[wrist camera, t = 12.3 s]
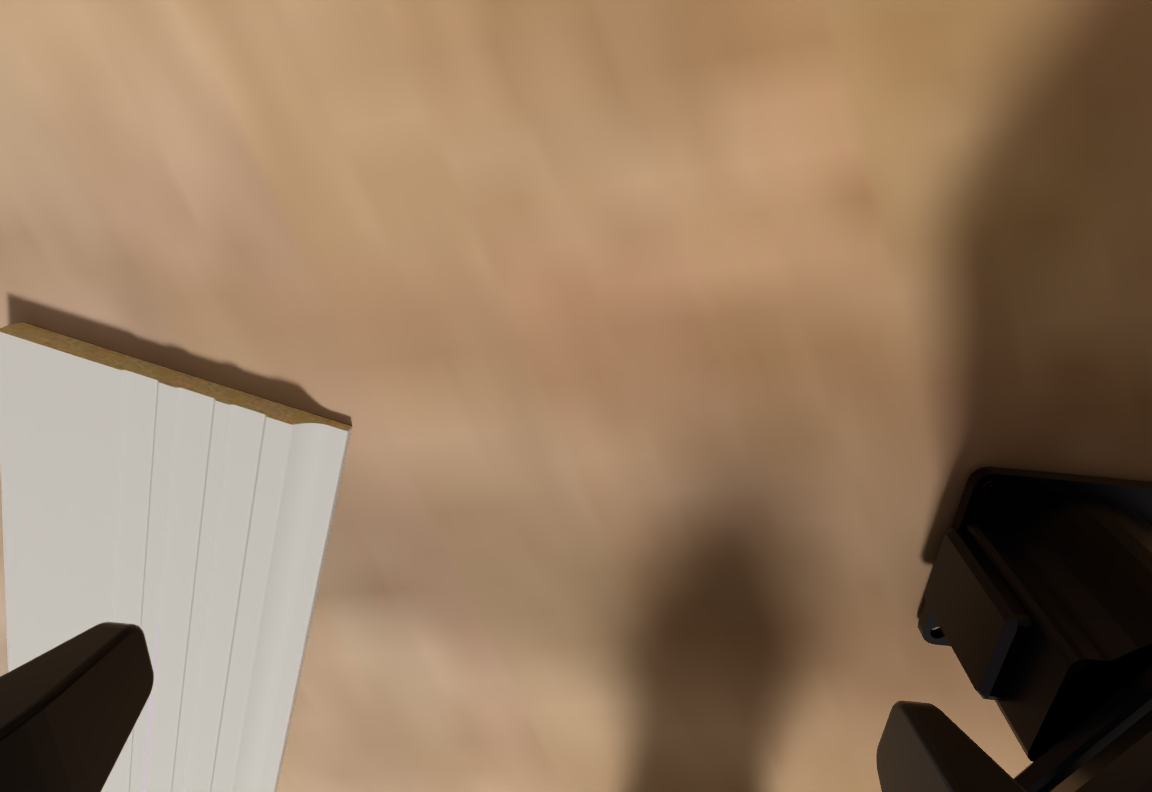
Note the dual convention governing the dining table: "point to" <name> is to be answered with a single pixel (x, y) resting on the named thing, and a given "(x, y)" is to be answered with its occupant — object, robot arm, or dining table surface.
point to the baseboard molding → (167, 546)
